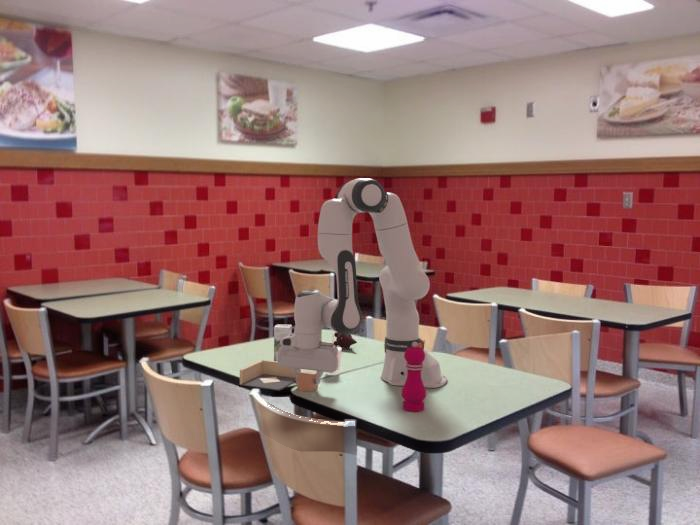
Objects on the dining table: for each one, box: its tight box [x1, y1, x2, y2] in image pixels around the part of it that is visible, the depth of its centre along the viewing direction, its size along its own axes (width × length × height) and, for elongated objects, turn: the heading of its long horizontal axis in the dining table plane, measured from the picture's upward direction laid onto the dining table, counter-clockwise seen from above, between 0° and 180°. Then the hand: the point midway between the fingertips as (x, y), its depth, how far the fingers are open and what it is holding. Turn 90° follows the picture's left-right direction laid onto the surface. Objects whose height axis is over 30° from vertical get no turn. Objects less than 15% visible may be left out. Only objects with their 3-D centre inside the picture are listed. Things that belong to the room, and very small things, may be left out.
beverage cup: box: [325, 333, 343, 376], centre depth 224 cm, size 6×6×14 cm
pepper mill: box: [401, 342, 427, 413], centre depth 187 cm, size 7×7×20 cm
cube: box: [296, 370, 319, 392], centre depth 206 cm, size 5×5×5 cm
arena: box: [239, 359, 302, 392], centre depth 213 cm, size 15×15×5 cm
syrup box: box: [273, 323, 293, 362], centre depth 236 cm, size 6×6×14 cm
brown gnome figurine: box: [333, 331, 358, 350], centre depth 262 cm, size 7×7×15 cm
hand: (307, 382), depth 206 cm, fingers closed on cube, 5 cm apart
